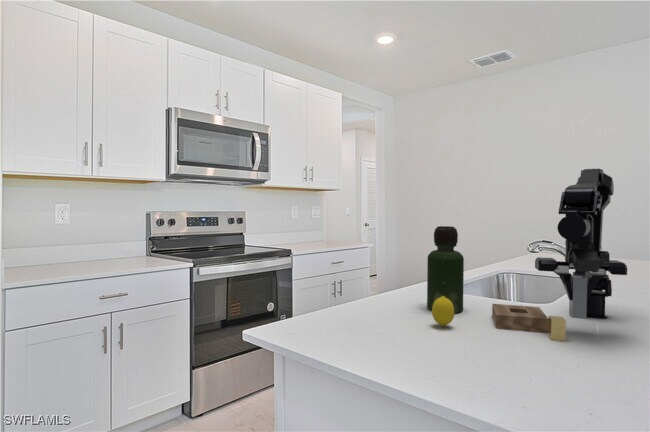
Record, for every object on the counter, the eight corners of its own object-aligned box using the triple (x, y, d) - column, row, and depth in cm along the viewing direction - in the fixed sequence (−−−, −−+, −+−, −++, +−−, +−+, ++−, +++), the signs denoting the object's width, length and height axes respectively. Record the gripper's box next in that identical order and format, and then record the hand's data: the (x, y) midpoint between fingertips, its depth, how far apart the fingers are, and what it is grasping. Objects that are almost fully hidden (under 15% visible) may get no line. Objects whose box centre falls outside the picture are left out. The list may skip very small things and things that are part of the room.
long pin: (582, 315, 102) (583, 276, 101) (586, 318, 99) (587, 278, 99) (569, 314, 103) (570, 275, 102) (572, 317, 100) (573, 277, 100)
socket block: (539, 319, 112) (539, 307, 112) (548, 332, 100) (548, 318, 100) (492, 315, 115) (492, 303, 115) (495, 328, 104) (496, 314, 104)
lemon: (455, 330, 102) (455, 299, 102) (432, 329, 103) (432, 298, 103) (452, 324, 107) (453, 294, 107) (431, 323, 108) (431, 293, 108)
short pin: (562, 337, 97) (562, 316, 97) (565, 341, 94) (565, 320, 94) (548, 336, 98) (548, 315, 98) (551, 340, 95) (551, 319, 95)
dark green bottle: (462, 315, 116) (463, 228, 115) (425, 312, 119) (426, 227, 118) (463, 306, 125) (464, 226, 125) (428, 304, 129) (429, 225, 128)
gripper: (543, 239, 95) (542, 305, 96) (638, 241, 90) (636, 311, 90) (535, 235, 106) (533, 295, 106) (618, 237, 100) (617, 300, 101)
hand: (577, 300), depth 101 cm, fingers closed on long pin, 3 cm apart
